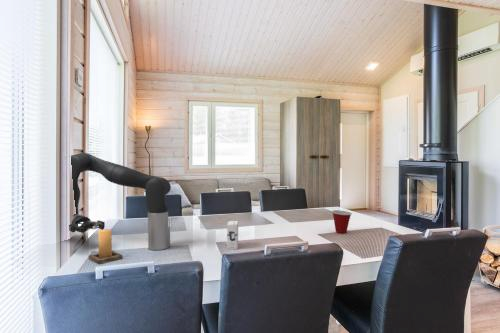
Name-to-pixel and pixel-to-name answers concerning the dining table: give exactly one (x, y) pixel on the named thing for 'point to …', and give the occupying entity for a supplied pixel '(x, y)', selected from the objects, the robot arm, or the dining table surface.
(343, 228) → the plastic cup
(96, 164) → the robot arm
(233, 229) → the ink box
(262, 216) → the dining table surface
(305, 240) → the dining table surface
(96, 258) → the walnut collar
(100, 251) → the yellow tall block
